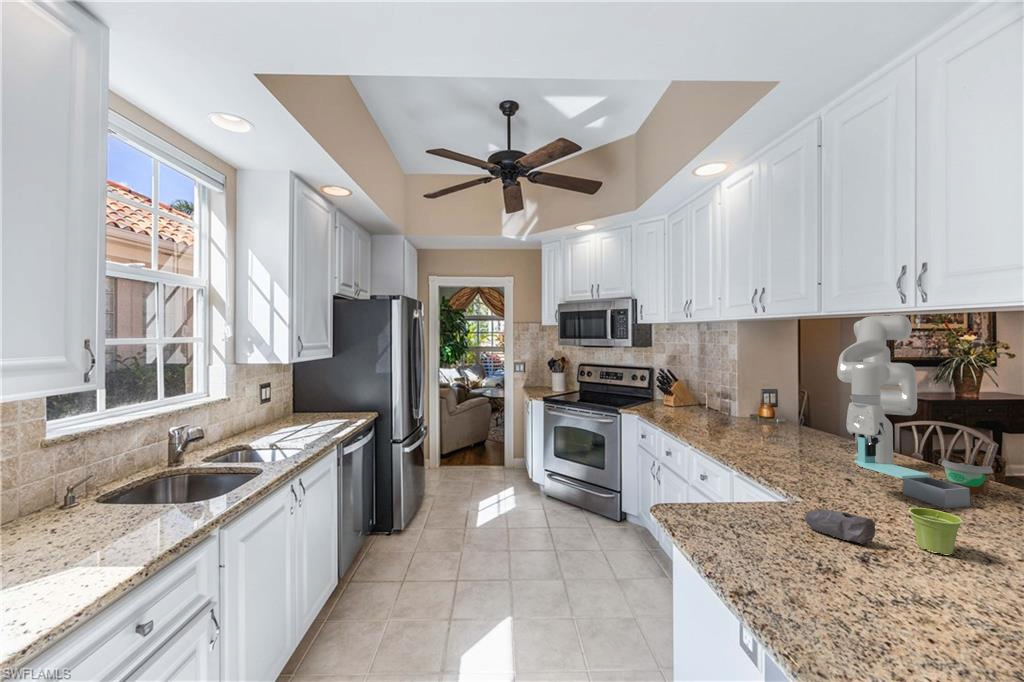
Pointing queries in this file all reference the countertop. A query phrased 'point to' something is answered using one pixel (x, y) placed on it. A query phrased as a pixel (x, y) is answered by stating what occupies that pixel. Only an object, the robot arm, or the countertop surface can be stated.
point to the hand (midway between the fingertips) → (866, 454)
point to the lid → (884, 464)
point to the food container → (968, 476)
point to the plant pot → (935, 529)
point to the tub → (937, 492)
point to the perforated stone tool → (841, 525)
